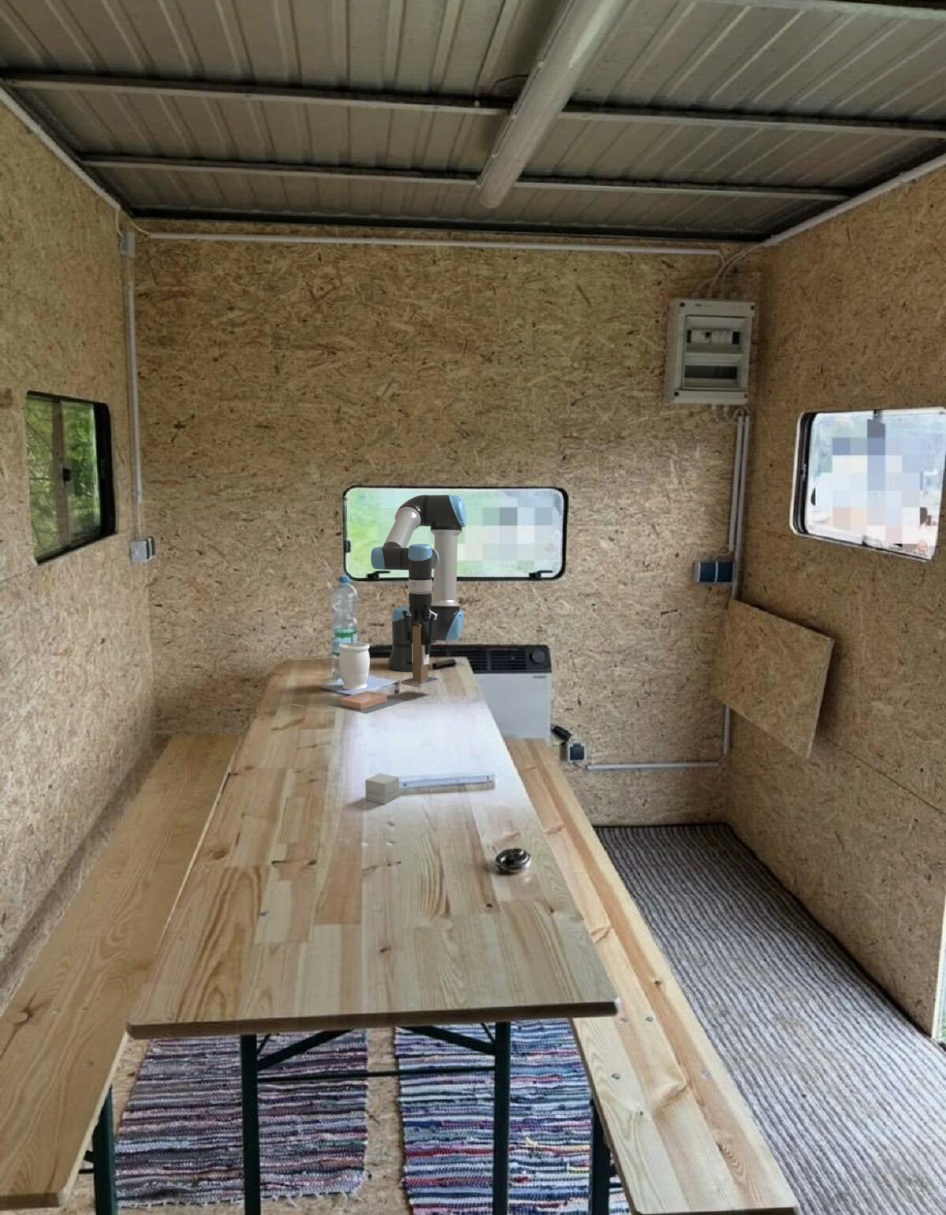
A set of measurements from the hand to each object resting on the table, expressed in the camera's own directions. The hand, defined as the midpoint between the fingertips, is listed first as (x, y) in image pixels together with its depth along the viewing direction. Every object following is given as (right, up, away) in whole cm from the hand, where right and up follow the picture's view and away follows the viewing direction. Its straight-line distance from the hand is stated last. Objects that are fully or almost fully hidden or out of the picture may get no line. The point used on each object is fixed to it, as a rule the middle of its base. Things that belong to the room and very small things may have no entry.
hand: (420, 663), depth 283 cm
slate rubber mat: (-16, -12, -7) cm, 22 cm away
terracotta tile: (-14, -10, -4) cm, 18 cm away
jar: (-23, -9, +13) cm, 28 cm away
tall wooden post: (0, -7, +1) cm, 7 cm away
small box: (-3, -26, -86) cm, 90 cm away
